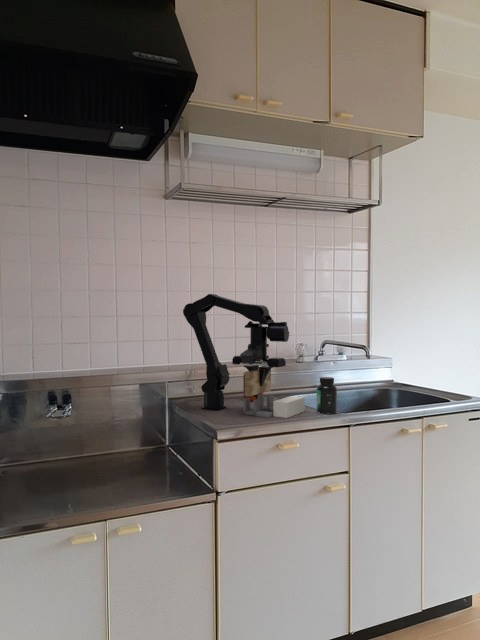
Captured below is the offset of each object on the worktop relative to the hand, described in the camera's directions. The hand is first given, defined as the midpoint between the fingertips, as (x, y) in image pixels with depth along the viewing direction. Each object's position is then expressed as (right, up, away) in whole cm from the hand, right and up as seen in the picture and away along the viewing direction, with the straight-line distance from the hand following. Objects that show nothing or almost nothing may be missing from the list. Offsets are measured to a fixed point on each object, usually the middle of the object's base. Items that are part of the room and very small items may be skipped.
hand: (258, 386), depth 173 cm
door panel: (0, -3, 0) cm, 3 cm away
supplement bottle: (+24, -9, -1) cm, 25 cm away
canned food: (-1, -9, +23) cm, 25 cm away
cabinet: (+5, -9, -1) cm, 11 cm away
